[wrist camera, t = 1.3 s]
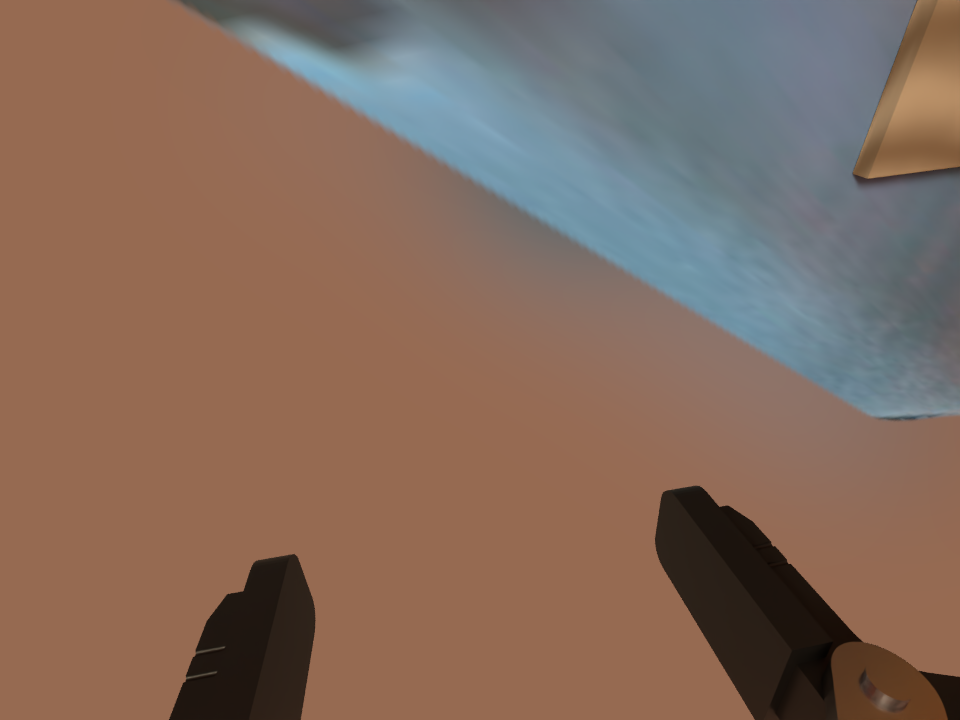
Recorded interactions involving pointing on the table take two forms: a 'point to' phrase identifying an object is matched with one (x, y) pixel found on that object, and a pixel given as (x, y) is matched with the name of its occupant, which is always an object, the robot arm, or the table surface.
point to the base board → (919, 99)
